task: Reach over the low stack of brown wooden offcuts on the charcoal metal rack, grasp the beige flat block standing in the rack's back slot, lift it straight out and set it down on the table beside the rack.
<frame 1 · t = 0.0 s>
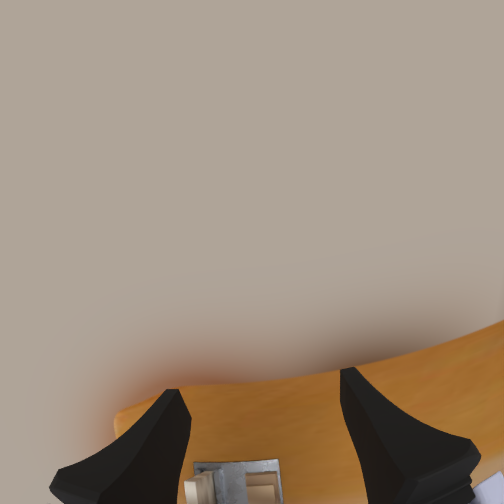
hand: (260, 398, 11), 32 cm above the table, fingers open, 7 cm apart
offcut stack: (264, 497, 30), resting on rack
beige flat block: (213, 498, 31), resting on rack
rack: (239, 497, 31), on the table
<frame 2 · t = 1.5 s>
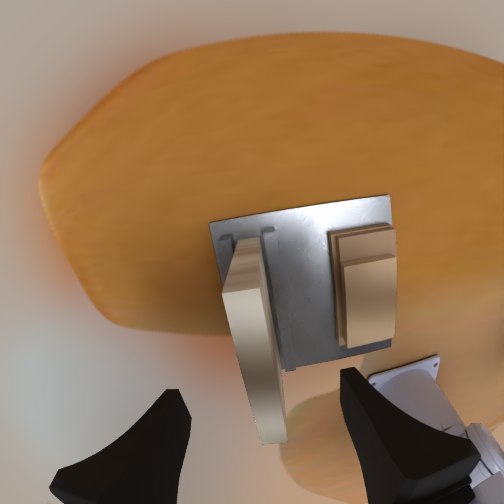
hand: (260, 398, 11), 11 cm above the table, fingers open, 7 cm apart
offcut stack: (362, 285, 21), resting on rack
beige flat block: (260, 303, 21), resting on rack
rack: (313, 292, 21), on the table
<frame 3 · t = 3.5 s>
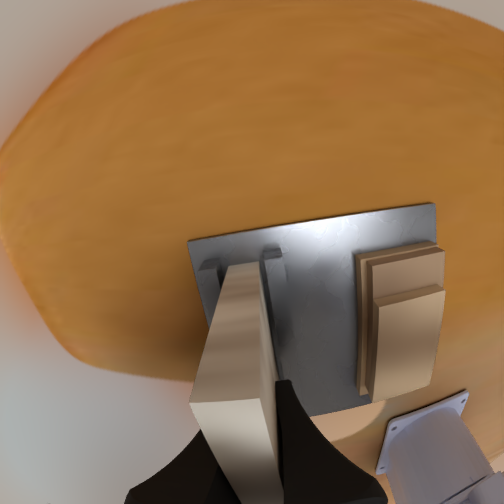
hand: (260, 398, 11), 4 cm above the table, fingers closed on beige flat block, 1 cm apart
offcut stack: (394, 322, 15), resting on rack
beige flat block: (260, 348, 15), resting on rack, touching gripper
rack: (330, 333, 15), on the table
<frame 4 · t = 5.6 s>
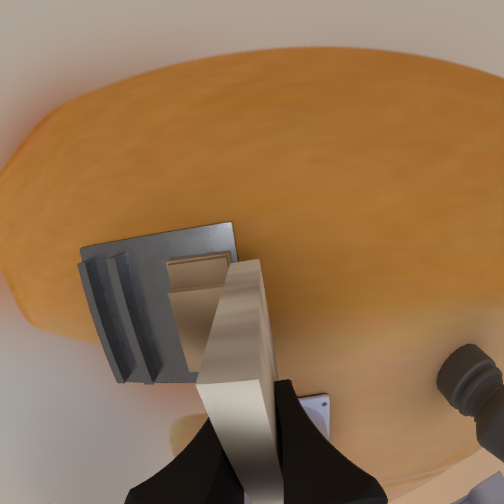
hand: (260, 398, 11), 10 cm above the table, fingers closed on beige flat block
candle holder: (458, 368, 23), on the table
offcut stack: (210, 313, 21), resting on rack
beige flat block: (260, 342, 16), point 6 cm above the table, touching gripper
rack: (165, 315, 22), on the table
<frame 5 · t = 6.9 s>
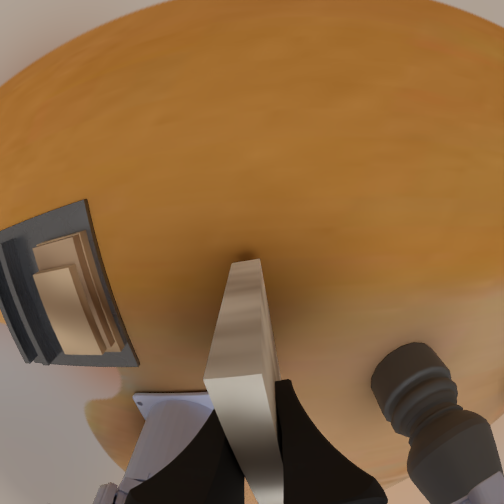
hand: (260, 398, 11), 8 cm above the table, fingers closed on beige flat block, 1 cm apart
candle holder: (403, 371, 20), on the table
offcut stack: (80, 295, 18), resting on rack
beige flat block: (261, 339, 17), point 2 cm above the table, touching gripper
rack: (50, 297, 19), on the table
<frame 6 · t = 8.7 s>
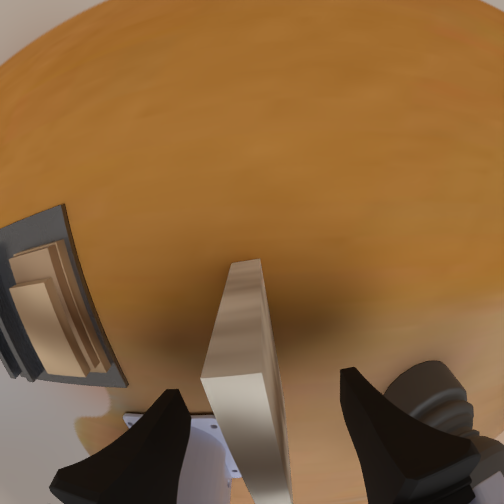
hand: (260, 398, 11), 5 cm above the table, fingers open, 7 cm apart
candle holder: (415, 390, 18), on the table
offcut stack: (61, 310, 16), resting on rack
beige flat block: (261, 341, 16), on the table
rack: (32, 310, 16), on the table
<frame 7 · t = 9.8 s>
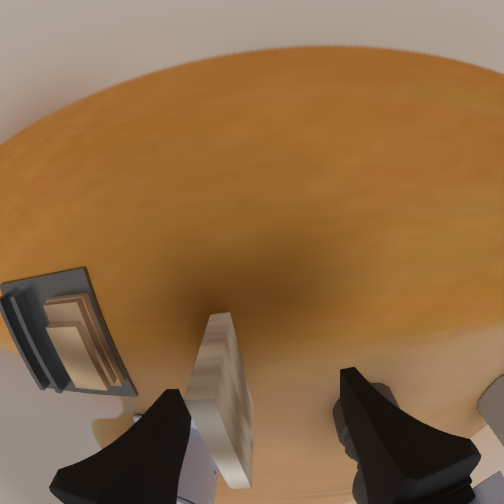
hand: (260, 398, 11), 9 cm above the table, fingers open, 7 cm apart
candle holder: (362, 404, 24), on the table
offcut stack: (86, 341, 22), resting on rack
beige flat block: (234, 365, 22), on the table
bottle: (493, 391, 24), on the table
rack: (60, 339, 22), on the table
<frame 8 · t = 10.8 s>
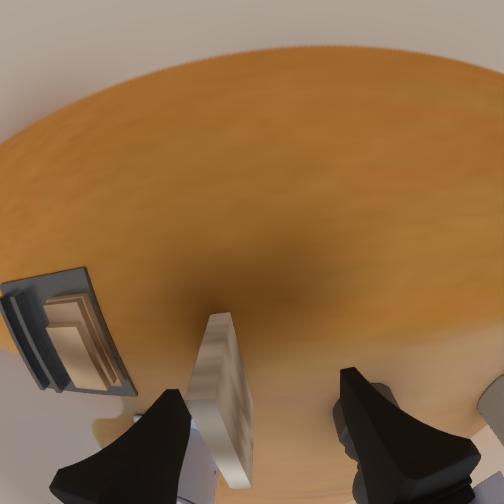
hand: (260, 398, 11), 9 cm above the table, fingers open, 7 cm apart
candle holder: (362, 404, 24), on the table
offcut stack: (86, 341, 22), resting on rack
beige flat block: (234, 365, 22), on the table
bottle: (493, 391, 24), on the table
rack: (60, 339, 22), on the table
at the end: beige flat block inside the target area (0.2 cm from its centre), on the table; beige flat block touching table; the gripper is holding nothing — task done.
